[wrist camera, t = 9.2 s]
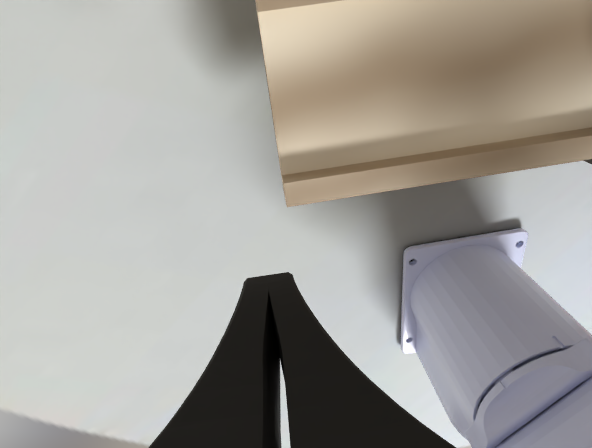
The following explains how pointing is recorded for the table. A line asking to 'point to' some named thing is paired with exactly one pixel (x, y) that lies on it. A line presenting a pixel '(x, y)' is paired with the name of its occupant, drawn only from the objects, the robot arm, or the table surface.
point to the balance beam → (423, 90)
